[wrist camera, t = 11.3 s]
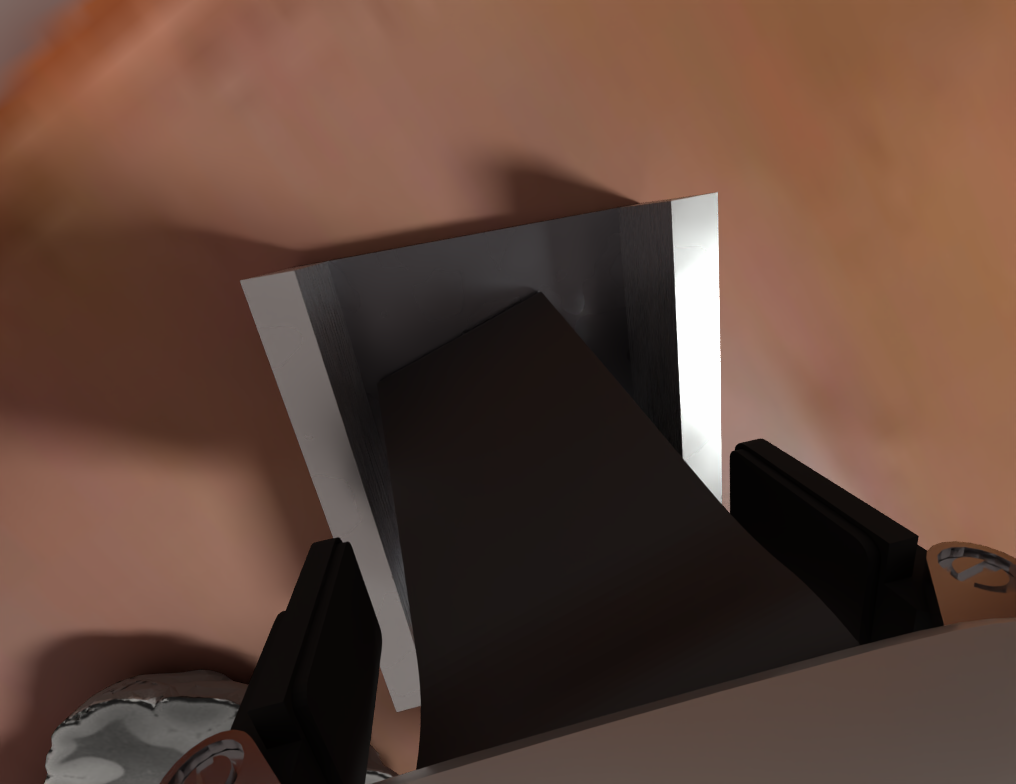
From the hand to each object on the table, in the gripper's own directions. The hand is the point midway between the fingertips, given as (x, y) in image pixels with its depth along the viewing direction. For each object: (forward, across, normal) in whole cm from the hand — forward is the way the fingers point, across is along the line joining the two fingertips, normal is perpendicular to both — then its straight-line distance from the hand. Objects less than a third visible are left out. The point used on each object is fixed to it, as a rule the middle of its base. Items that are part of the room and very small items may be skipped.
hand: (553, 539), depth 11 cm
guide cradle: (+7, 0, 0) cm, 7 cm away
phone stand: (+6, 0, 0) cm, 6 cm away
